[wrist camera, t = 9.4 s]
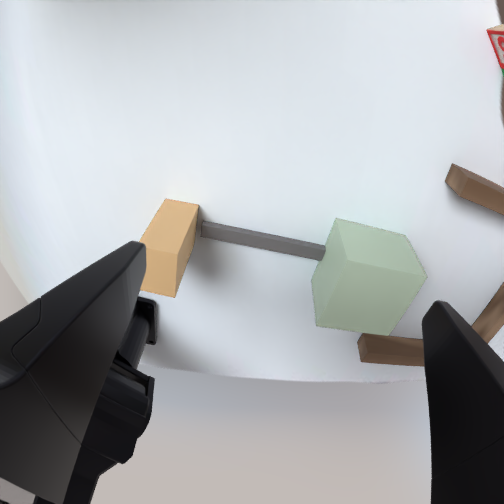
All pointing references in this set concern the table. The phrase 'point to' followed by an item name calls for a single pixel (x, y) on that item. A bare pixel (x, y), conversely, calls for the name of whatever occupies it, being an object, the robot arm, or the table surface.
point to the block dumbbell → (330, 257)
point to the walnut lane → (491, 319)
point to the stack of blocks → (498, 43)
